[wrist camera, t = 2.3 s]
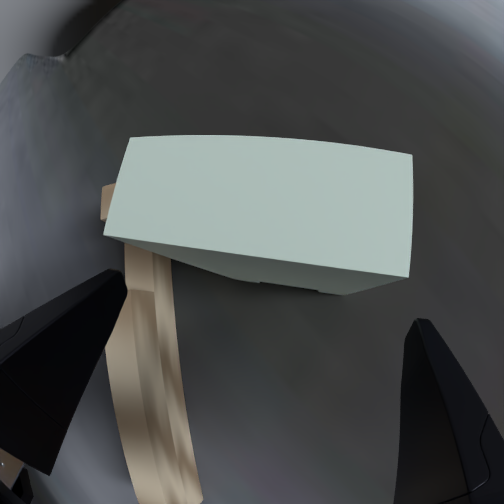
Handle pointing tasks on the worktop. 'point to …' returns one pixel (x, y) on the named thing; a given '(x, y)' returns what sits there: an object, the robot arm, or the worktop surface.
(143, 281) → the beige long bar piece
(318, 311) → the worktop surface
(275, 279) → the sage block
